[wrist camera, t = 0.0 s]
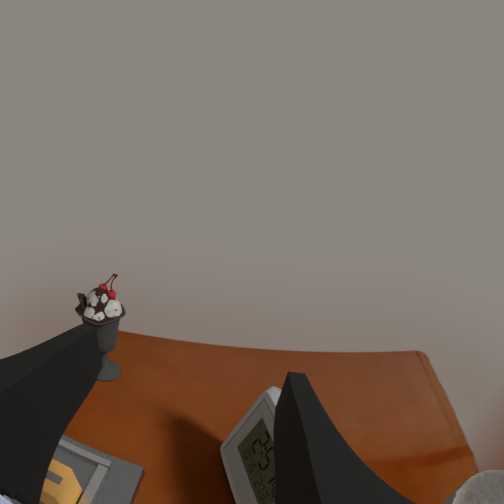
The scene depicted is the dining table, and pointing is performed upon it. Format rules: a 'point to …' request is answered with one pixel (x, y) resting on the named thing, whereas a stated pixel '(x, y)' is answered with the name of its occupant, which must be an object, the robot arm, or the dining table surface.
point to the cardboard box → (60, 485)
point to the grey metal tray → (98, 474)
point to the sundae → (103, 324)
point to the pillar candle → (481, 489)
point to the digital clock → (253, 452)
